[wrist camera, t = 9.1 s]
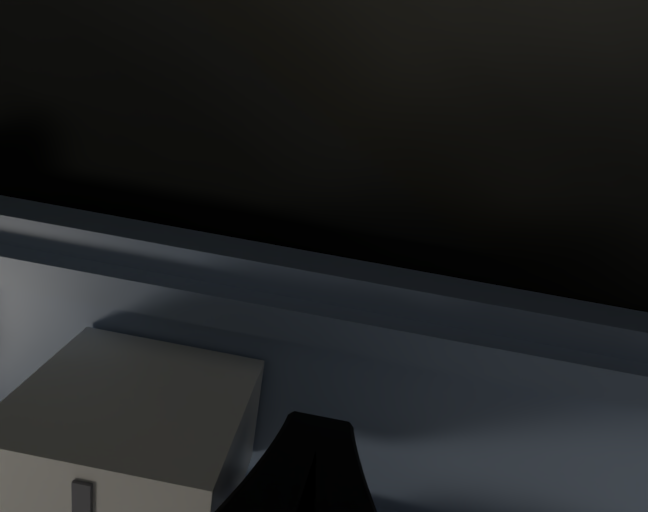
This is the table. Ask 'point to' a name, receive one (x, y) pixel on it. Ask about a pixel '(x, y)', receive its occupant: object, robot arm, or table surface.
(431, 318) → the switch bank
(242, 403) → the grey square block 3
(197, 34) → the table surface
